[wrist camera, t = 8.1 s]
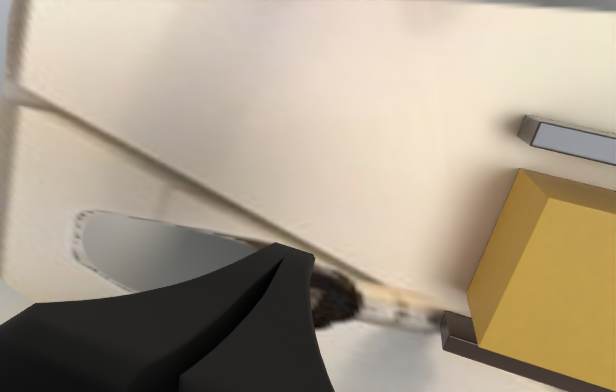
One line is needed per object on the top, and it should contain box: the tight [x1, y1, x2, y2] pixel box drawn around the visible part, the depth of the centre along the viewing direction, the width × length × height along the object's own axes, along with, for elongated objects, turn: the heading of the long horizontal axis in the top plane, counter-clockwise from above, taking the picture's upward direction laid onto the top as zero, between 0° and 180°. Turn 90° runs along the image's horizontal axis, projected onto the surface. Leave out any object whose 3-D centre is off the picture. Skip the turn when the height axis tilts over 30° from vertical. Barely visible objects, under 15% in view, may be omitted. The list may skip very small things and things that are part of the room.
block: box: [466, 168, 616, 391], centre depth 16 cm, size 7×7×4 cm
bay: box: [440, 115, 616, 392], centre depth 17 cm, size 12×9×2 cm
